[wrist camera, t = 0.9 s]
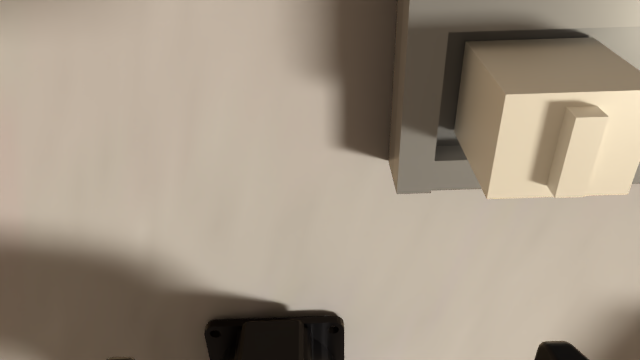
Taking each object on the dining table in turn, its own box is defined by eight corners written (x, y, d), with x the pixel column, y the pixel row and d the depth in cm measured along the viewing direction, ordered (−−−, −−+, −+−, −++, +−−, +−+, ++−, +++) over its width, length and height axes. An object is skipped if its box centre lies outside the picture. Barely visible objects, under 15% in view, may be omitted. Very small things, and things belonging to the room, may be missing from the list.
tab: (569, 128, 18) (638, 206, 15) (453, 131, 18) (493, 211, 15) (592, 37, 17) (679, 99, 13) (465, 41, 17) (513, 105, 13)
